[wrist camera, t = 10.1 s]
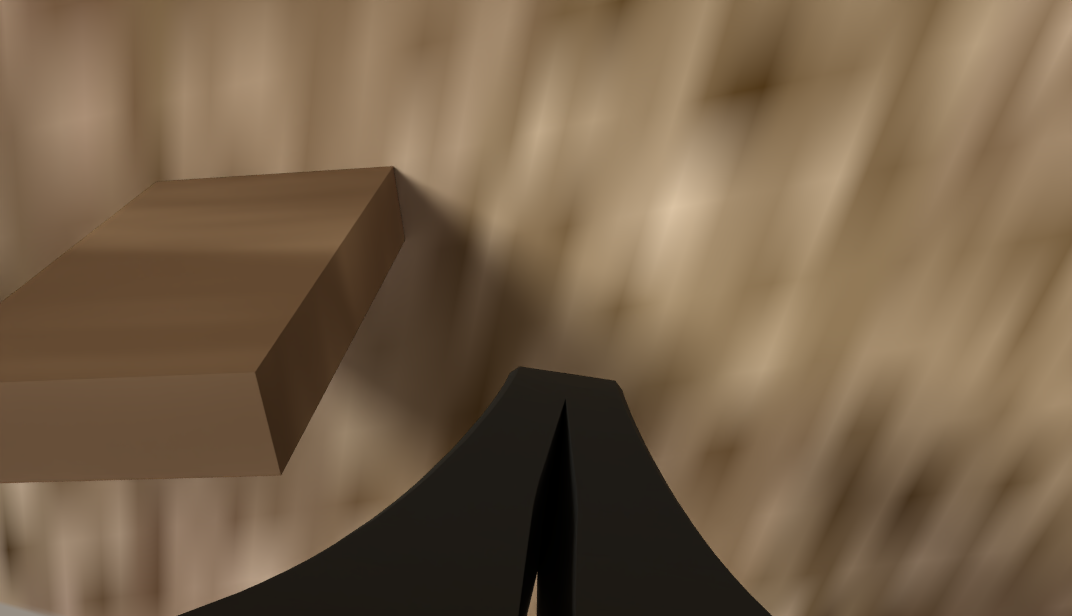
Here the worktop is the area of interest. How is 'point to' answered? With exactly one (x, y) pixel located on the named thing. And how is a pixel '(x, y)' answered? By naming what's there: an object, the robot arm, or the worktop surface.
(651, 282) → the worktop surface
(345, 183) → the domino
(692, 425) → the worktop surface
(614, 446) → the robot arm
